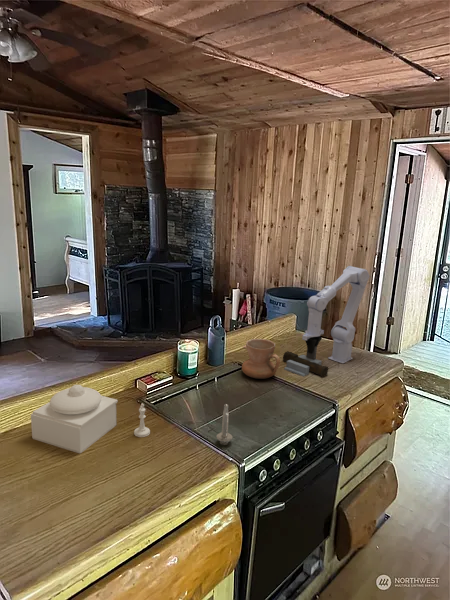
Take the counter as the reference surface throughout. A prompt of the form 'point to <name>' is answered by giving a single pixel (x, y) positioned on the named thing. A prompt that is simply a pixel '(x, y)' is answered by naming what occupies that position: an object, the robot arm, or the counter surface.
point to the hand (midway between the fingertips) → (311, 352)
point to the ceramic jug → (260, 359)
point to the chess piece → (142, 424)
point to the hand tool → (306, 363)
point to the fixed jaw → (297, 368)
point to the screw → (224, 428)
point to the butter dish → (74, 418)
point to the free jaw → (311, 356)
